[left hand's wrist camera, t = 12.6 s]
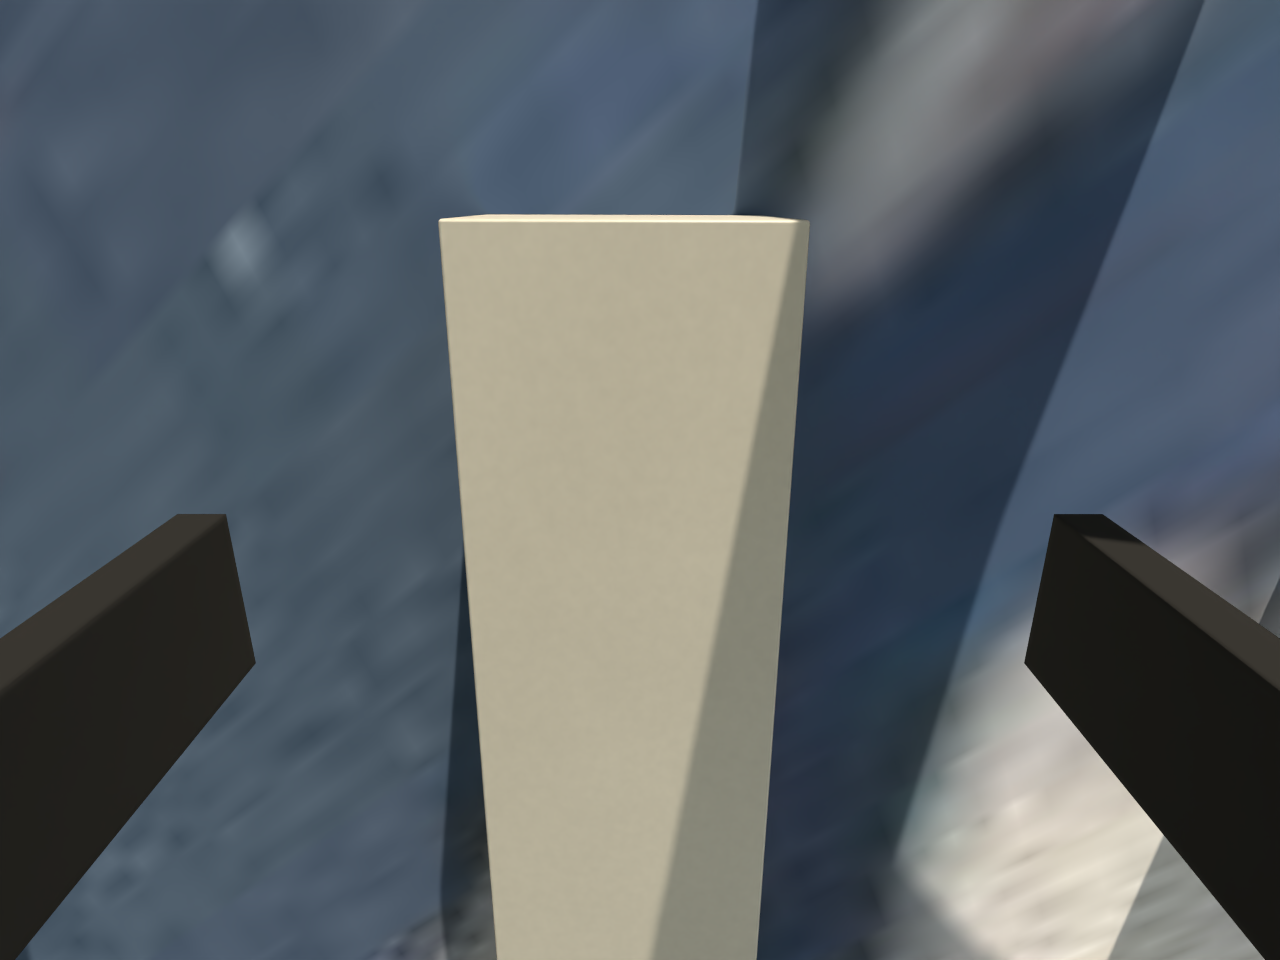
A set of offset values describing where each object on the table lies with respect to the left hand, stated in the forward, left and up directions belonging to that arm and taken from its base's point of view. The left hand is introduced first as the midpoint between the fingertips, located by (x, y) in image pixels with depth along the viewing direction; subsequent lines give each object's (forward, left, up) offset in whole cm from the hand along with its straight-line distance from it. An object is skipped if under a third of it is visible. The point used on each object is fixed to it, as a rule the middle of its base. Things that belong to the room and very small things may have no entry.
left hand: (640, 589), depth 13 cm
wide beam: (+19, +21, -16) cm, 32 cm away
